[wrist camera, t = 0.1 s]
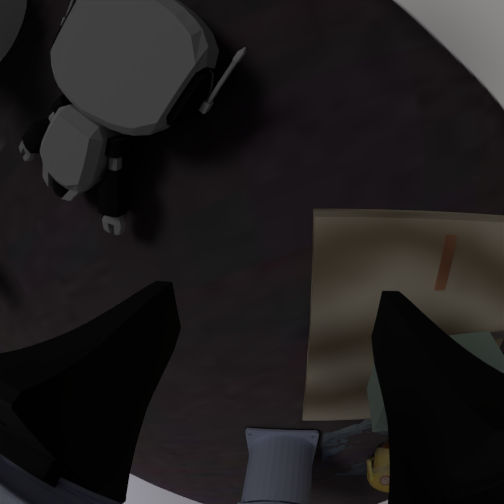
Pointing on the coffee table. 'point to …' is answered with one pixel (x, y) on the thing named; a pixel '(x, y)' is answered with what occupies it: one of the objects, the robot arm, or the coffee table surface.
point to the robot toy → (120, 92)
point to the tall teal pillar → (473, 342)
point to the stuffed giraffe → (374, 466)
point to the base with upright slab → (10, 23)
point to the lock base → (393, 279)
